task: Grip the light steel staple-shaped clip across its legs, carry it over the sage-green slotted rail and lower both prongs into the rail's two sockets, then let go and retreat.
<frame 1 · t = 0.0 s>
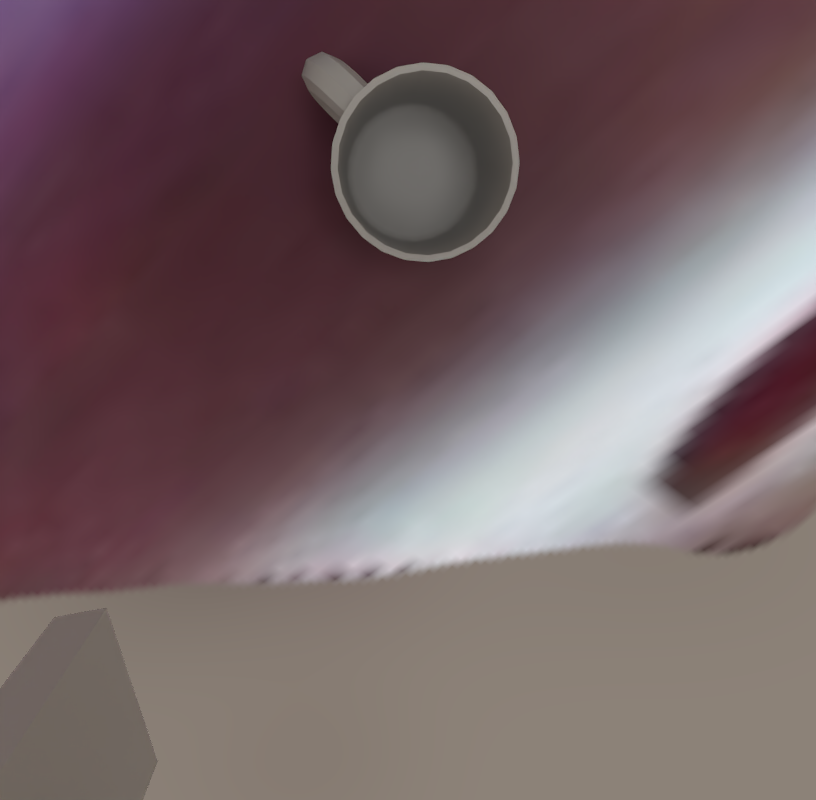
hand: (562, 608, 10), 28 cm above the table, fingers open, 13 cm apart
cup: (391, 155, 35), on the table
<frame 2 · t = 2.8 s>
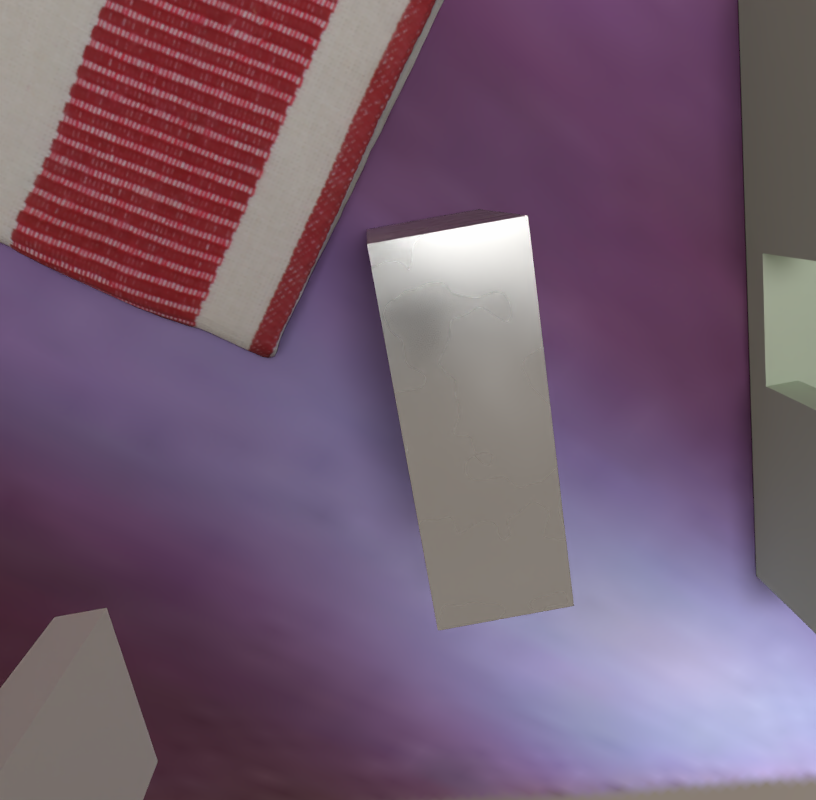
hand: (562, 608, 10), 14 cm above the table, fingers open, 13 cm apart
clip: (447, 370, 24), on the table
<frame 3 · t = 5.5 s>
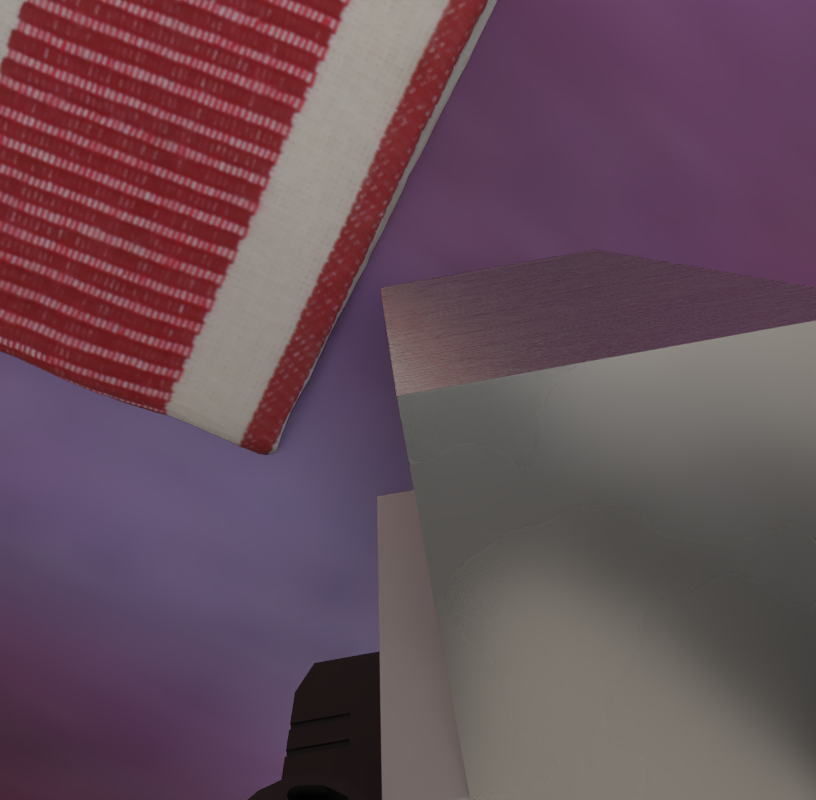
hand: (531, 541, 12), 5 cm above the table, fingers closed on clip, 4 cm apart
clip: (525, 540, 13), point 4 cm above the table, touching gripper
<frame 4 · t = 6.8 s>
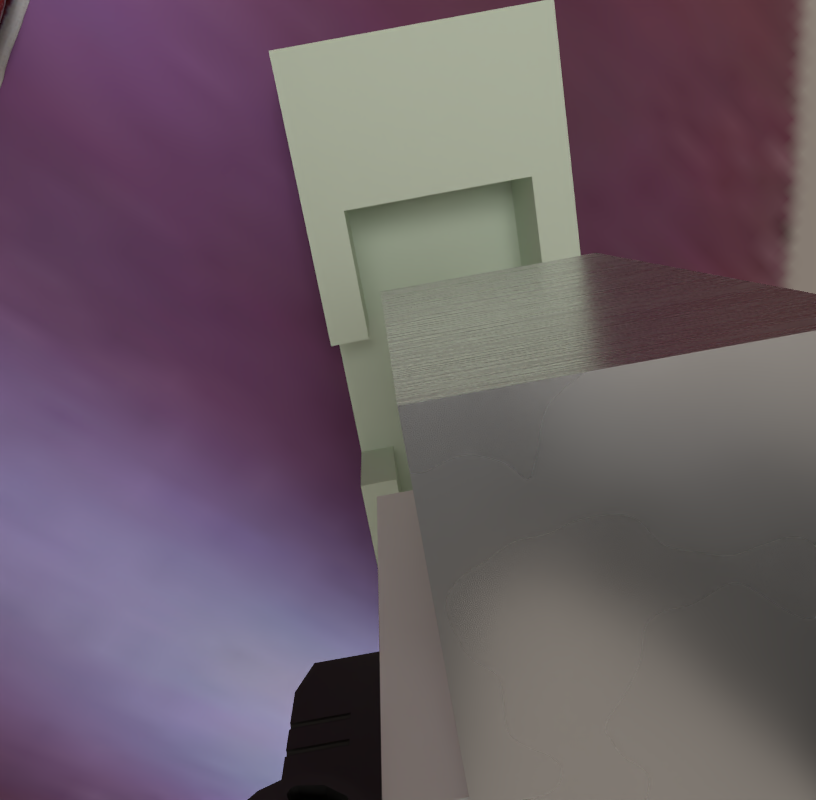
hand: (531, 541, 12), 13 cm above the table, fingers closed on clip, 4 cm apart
clip: (526, 544, 13), point 12 cm above the table, touching gripper
rail: (453, 364, 25), on the table
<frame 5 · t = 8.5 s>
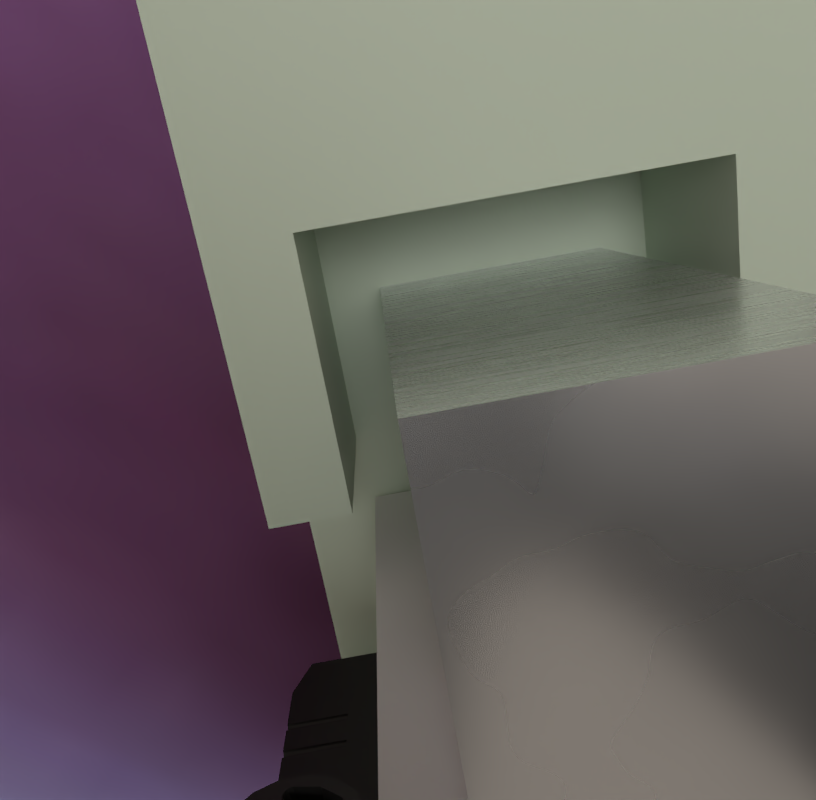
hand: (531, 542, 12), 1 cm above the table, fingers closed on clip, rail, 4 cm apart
clip: (527, 543, 13), point 1 cm above the table, touching gripper, rail
rail: (511, 502, 14), on the table
when the fingers open (1 cm above the table, at t = 8.9 s): clip stays where it is, resting on rail.
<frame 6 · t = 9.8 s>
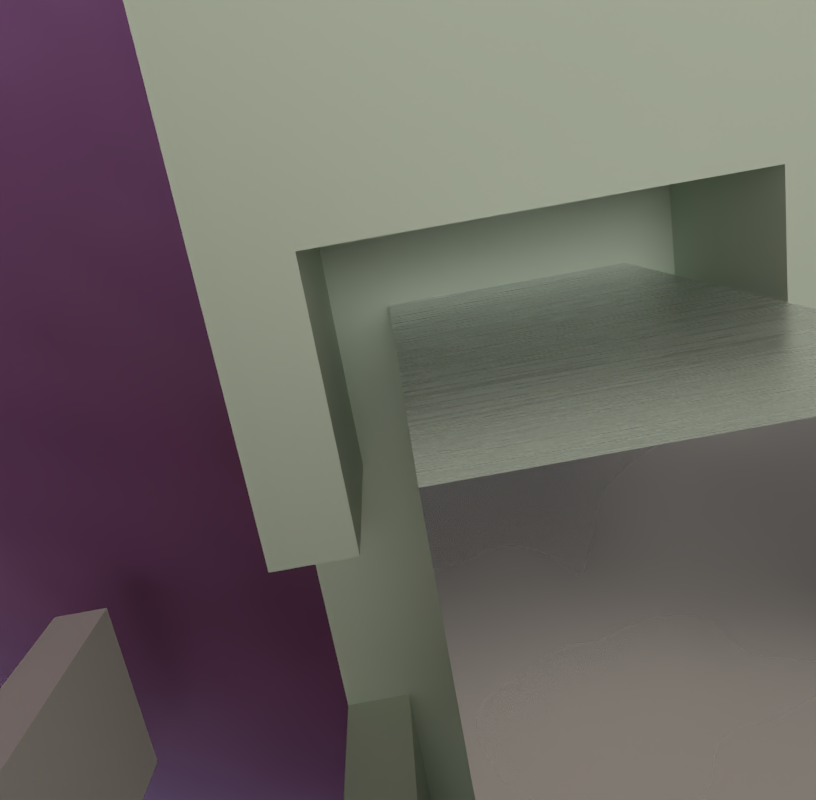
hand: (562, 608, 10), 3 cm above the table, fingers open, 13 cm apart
clip: (545, 576, 12), point 1 cm above the table, touching rail
rail: (526, 531, 13), on the table
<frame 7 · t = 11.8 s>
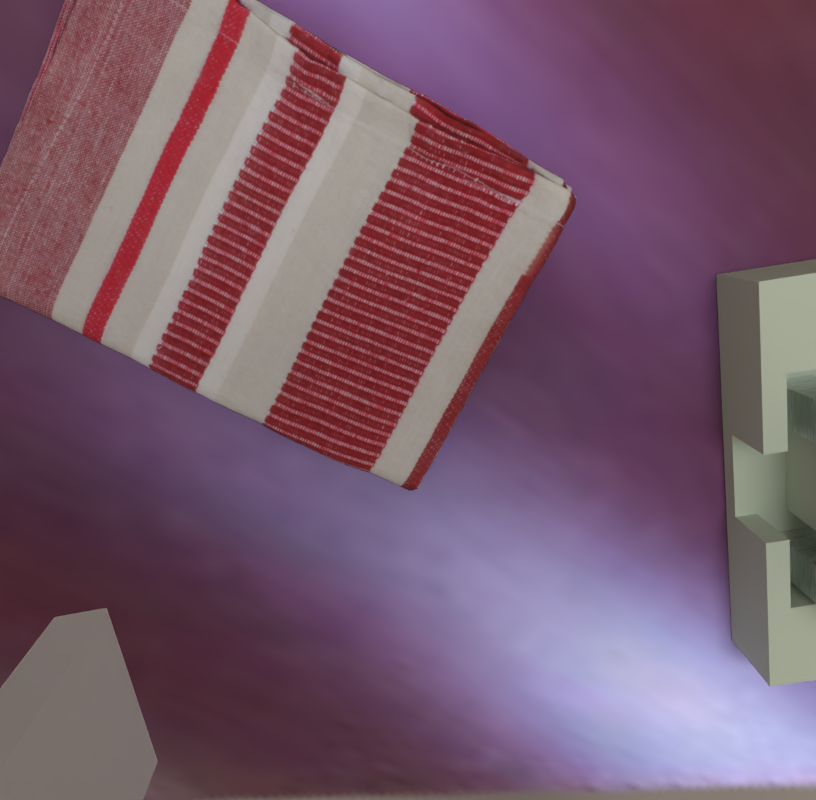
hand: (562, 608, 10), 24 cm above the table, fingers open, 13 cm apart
dish towel: (277, 233, 33), on the table
clip: (808, 471, 35), point 1 cm above the table, touching rail
rail: (796, 458, 36), on the table
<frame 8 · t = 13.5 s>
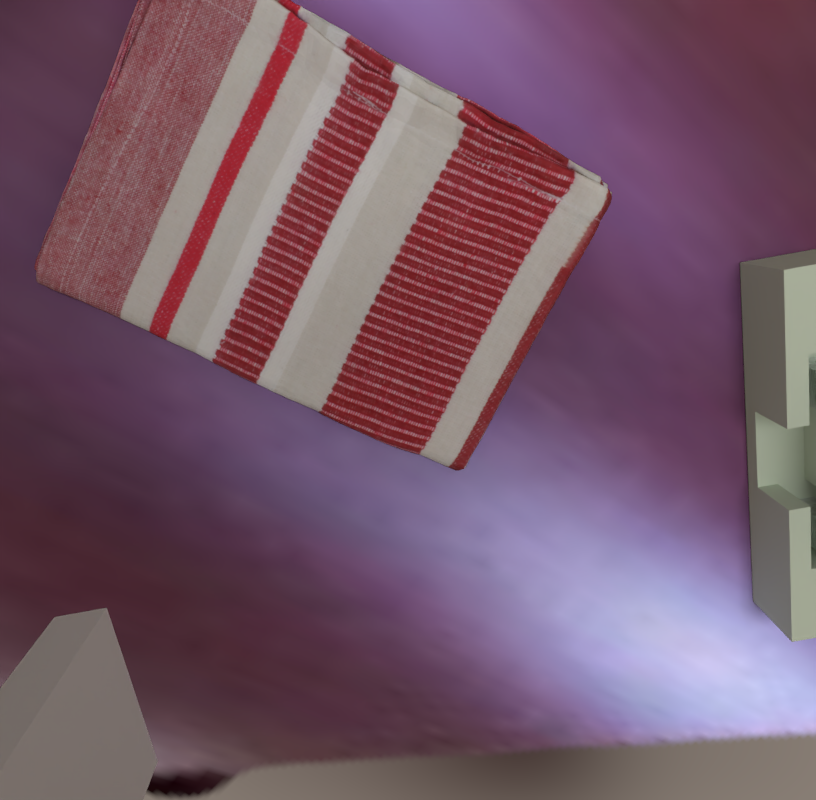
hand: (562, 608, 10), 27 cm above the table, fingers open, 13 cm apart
dish towel: (329, 232, 35), on the table
rail: (812, 432, 39), on the table
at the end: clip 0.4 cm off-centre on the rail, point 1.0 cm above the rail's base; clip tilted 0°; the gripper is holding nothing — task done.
